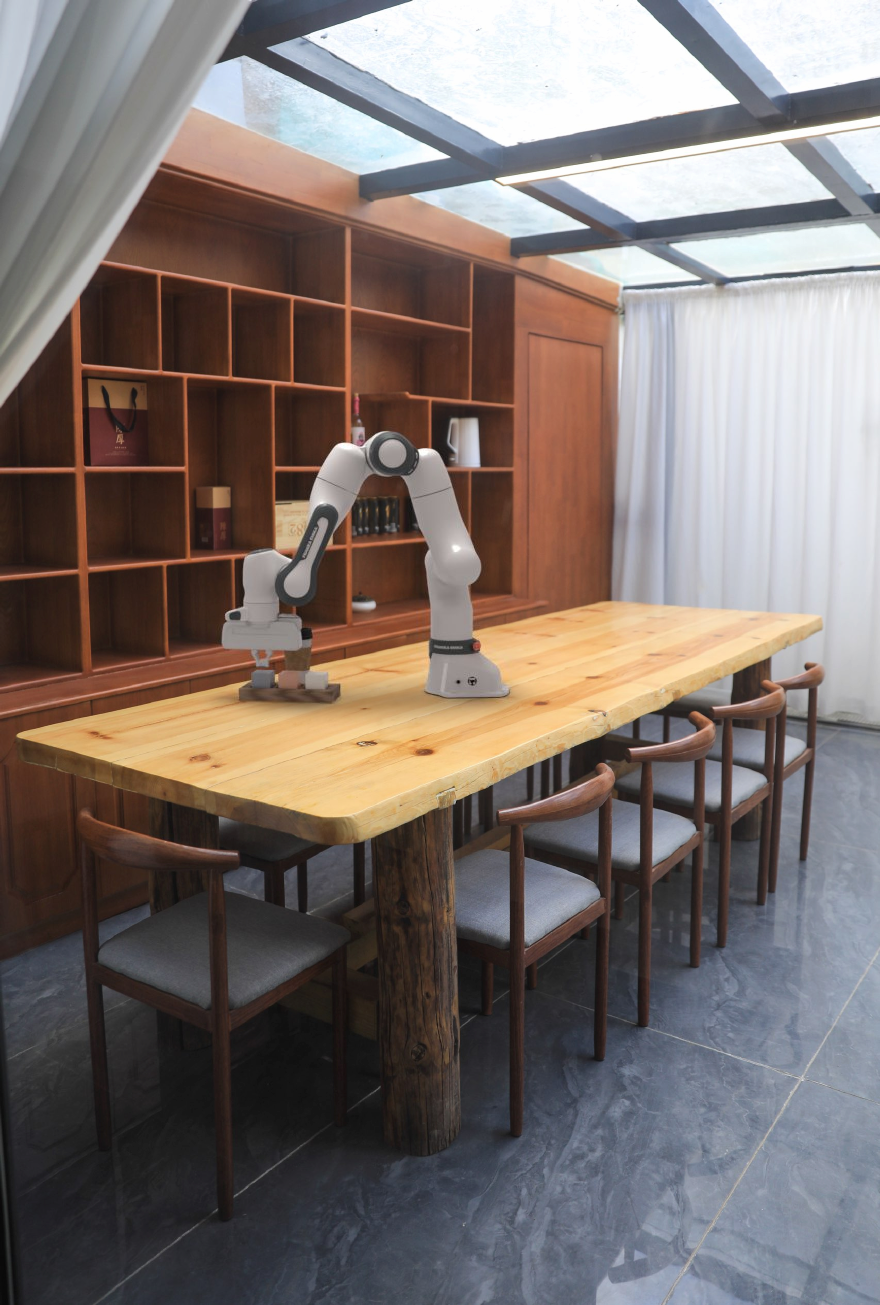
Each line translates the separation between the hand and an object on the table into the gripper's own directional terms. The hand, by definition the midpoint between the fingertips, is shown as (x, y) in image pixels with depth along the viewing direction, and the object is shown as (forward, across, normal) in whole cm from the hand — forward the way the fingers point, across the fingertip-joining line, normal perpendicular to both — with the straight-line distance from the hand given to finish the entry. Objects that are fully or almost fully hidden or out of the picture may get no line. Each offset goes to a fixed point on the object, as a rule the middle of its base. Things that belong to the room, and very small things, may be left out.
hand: (262, 666), depth 260 cm
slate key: (+5, 0, 0) cm, 5 cm away
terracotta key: (+5, -7, 0) cm, 9 cm away
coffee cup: (+8, -4, -20) cm, 22 cm away
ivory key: (+5, -14, 0) cm, 15 cm away
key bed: (+8, -7, 0) cm, 11 cm away
